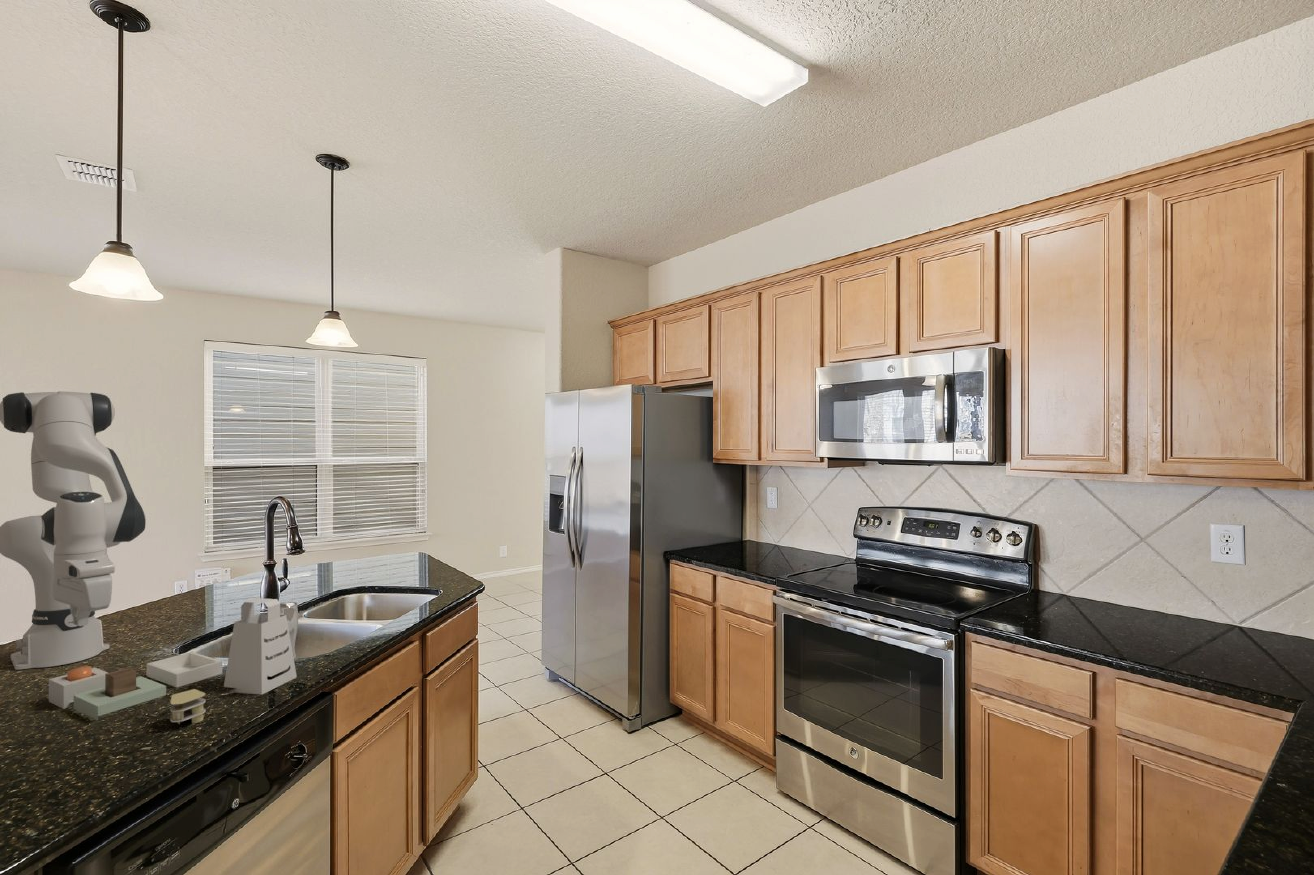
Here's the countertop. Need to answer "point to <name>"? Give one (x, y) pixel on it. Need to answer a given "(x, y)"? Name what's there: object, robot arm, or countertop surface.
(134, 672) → the walnut block
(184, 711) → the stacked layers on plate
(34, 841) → the countertop surface
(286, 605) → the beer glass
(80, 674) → the button
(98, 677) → the button housing
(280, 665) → the grater
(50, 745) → the countertop surface
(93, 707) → the pallet plate
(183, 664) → the tote
